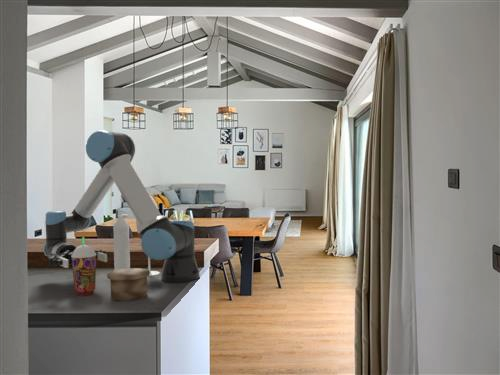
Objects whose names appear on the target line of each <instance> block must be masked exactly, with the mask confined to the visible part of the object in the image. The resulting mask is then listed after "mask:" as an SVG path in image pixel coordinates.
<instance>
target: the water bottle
mask: <svg viewBox="0 0 500 375" xmlns="http://www.w3.org/2000/svg"><path fill="white" fill-rule="evenodd" d="M126 218H129V214H123V213H120V214H118V215H117V219H116V220H115V222H114V224H113V225H112V229H113V230H112V231H113V232H112V233H113V261H114V262H113V263H114V266H113V267H114V270H113V271H115V270H120V269H130V268H131V249H130V246H131V245H130V225H129V223H128V221H127V220H126Z"/></svg>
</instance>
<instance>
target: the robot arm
mask: <svg viewBox="0 0 500 375" xmlns="http://www.w3.org/2000/svg"><path fill="white" fill-rule="evenodd" d="M85 152H86V156H87V157H88V158H89V160H91V161H93V162H95V163H98V164H99V167H100V169H99V171H98V172H97V174H96V175H95V177H94V178H93V180H92V182H91V183H90V184H89V186H88V188H87V189H86V190H85V192H84V194H83V195H82V196H81V198H80V200H79V201H78V203H77V205H75V207H74V209H72V212H71V213H66V211H65V210H52V211H51V210H50V211H47V212H46V213H45V221H44V224H45V238H46V239H45V244H44V245H43V254H44V255H45V256H46V257H47V258H48V261H49V264H48V265H49V266H50V267H51V266H54V265H55V268H59V267H63V268H65V269H68V268H69V267H70V266H69V265H72V257H71V255H72V254H73V252H74V250H75V249H76V248H77V246H75V245H74V244H70V243H67V240H68V239H67V238H68V237H67V234H68V233H73V232H79V231H83V230H85V229H88V228H89V227H90V226H91V224H92V216H93V215H94V213H95V211H96V210H97V208H98V207H99V205H100V204H101V202H102V201H103V200H104V198H105V197H106V195H107V193H108V192H109V191H110V189H112V188H111V187H112V186H113V185H114V183H115V185H116V187H117V189H118V191H119V192H120V194H121V195H122V198H123V199H124V201H125V202H126V204H127V206H128V208H129V209H130V210H131V211H130V212H131V213H132V215H133V216H134V218H135V221H136V220H137V221H138V223H139V225H140V227H141V228H140V232H139V233H140V235H141V237H142V239H140V240H141V243H140V246H141V249H142V251H143V253H144V254H145V255H146V256H147V258H148V257H150V260H156V261H163V260H164V261H163V266H162V269H161V272H160V278H161V280H162V281H164V282H168V283H183V282H190V281H191V282H192V281H196V280H198V279H199V278H200V270H199V267H198V264H197V260H196V258H195V257H196V256H195V250H196V249H195V225H194V222H193V221H192V220H170V219H169V217H168V216H166V215H162V213H160V211H159V209H158V207H157V206H156V204H155V202H154V200H153V199H152V197H151V196H150V194H149V192H148V190H147V189H146V187H145V185H144V184H143V183H142V180H141V179H140V177H139V175H138V173H137V171H135V169H134V166H133V165H132V163H131V162H132V161H133V159H134V156H135V154H136V144H135V143H134V140H133V138H132V137H131V136H129V135H127V134H126V133H123V132H114V131H109V130H97V131H95V132H92V133H91V134H90V135H89V136H88V138H87V140H86V144H85ZM94 251H95V253H96V260H98V261H101V262H102V263H103V262H104V263H107V262H108V254H107V251H106V250H102V249H99V250H97V249H94Z"/></svg>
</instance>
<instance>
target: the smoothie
mask: <svg viewBox="0 0 500 375" xmlns="http://www.w3.org/2000/svg"><path fill="white" fill-rule="evenodd" d="M81 238H82V241H81V242H82V244H80V245H78V246H76V249H75V250H74V252H73V254H72V255H71V257H72V264H71V265H72V267H71V268H72V274H73V276H72V277H73V284H74V286H73V287H74V292H75V294H76V295H77V296H89V295H92V294H94V292H95V290H96V272H97V271H96V270H97V259H96V253H95V251H94V250H95V249H94V248H93V247H92V246H90V245H88V244H85V243H86V242H85V236H82V237H81Z"/></svg>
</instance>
